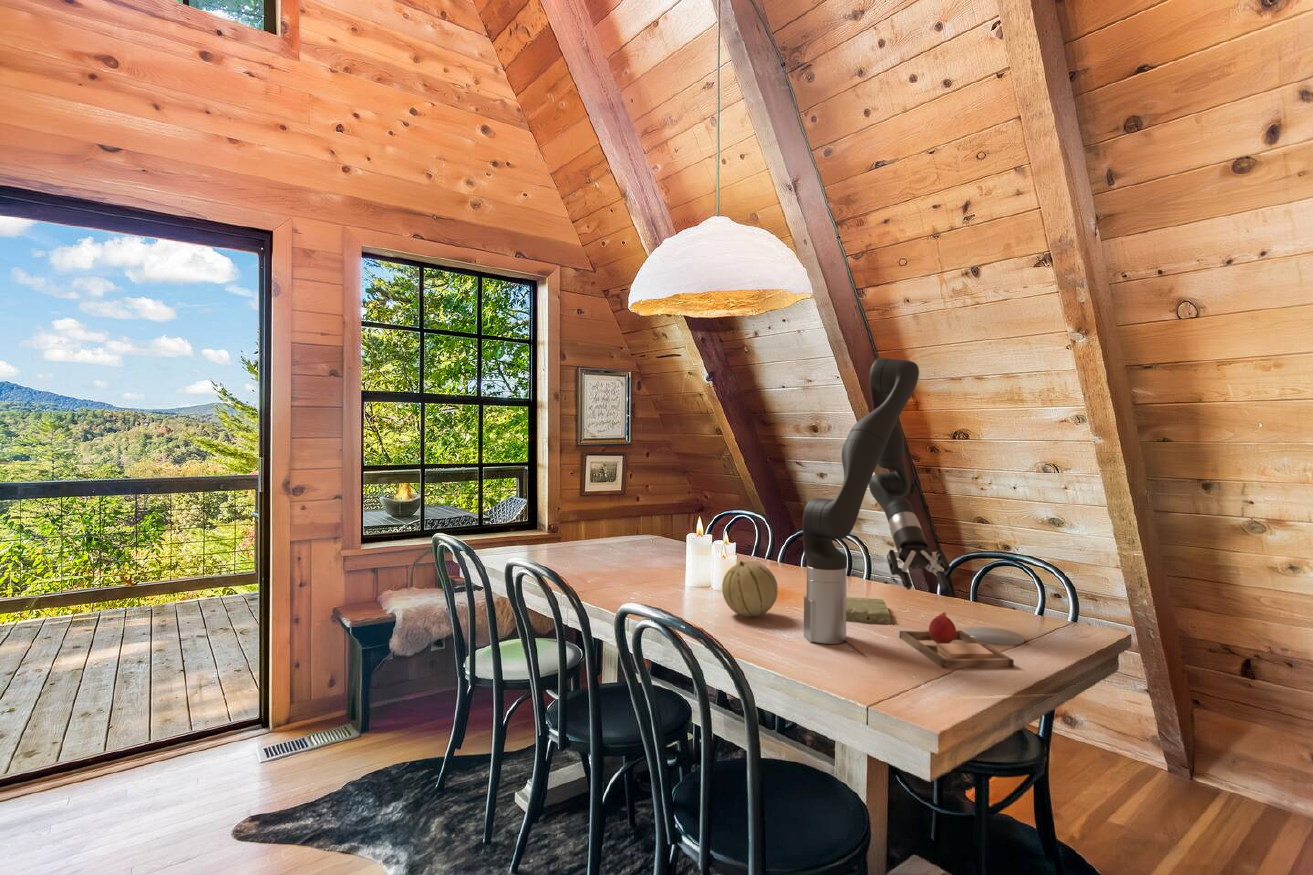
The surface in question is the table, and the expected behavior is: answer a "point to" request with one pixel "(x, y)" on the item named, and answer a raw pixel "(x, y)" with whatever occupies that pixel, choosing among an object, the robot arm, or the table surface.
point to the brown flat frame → (931, 653)
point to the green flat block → (867, 610)
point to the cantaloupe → (749, 588)
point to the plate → (995, 635)
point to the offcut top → (965, 651)
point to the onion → (942, 629)
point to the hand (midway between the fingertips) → (927, 587)
